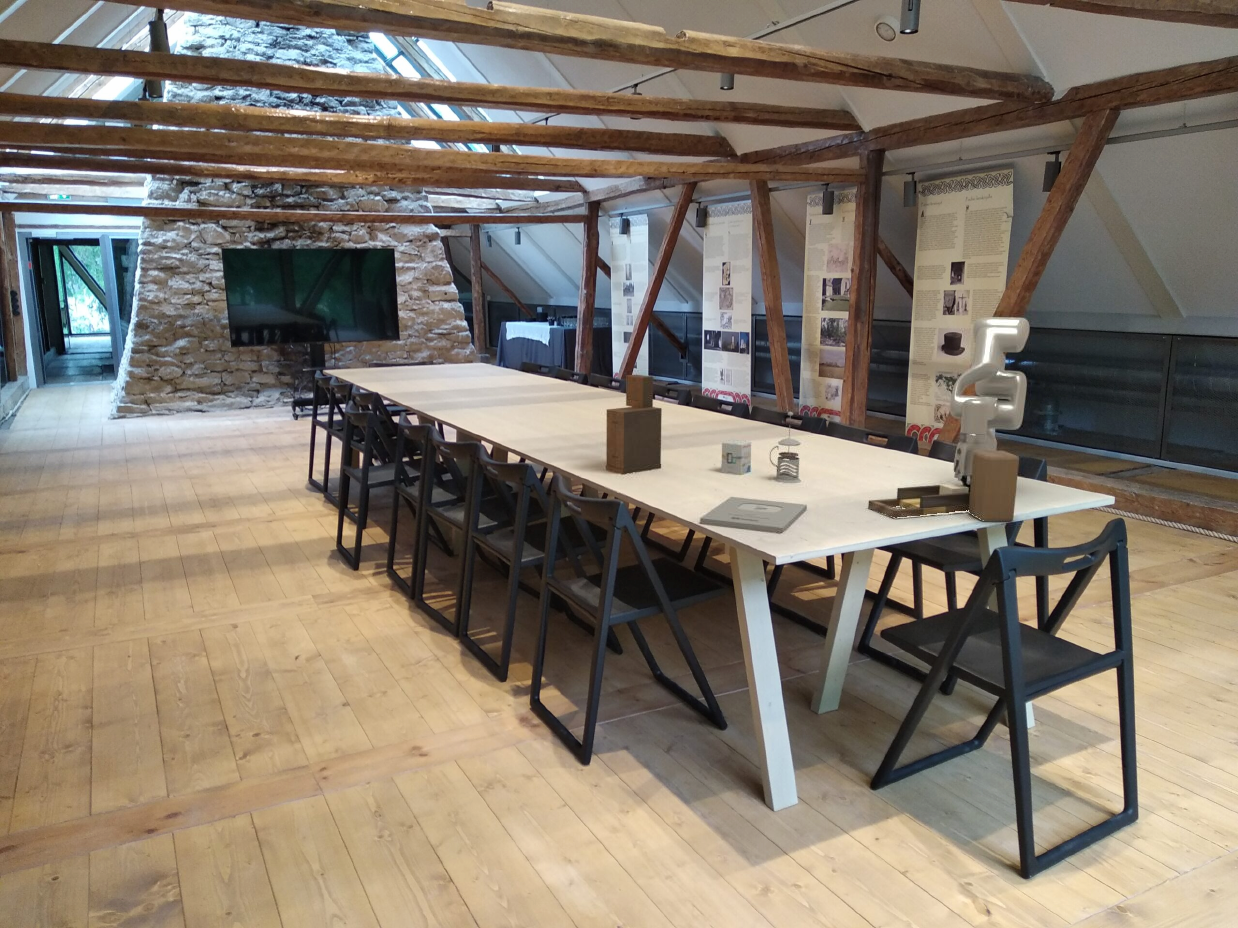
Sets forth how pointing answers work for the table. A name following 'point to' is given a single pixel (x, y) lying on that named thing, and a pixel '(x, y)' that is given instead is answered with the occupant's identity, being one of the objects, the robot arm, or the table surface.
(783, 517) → the award plaque
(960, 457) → the robot arm
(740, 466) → the ink box
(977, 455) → the block
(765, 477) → the table surface
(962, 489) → the cream block
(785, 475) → the french press
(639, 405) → the stacked wooden blocks
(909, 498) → the tunnel deck
